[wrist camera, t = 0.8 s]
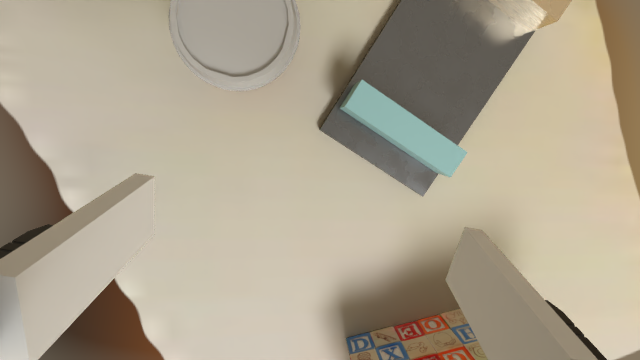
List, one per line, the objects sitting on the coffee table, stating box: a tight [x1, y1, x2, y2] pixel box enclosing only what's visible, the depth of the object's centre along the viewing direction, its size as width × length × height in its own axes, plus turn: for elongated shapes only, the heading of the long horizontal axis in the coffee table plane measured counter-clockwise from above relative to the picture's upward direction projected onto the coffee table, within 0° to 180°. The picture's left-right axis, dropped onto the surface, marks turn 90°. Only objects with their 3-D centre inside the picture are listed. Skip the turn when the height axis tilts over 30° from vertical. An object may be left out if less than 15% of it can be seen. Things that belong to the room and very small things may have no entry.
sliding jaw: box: [340, 80, 467, 177], centre depth 35 cm, size 3×13×4 cm, turn 57°
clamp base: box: [319, 0, 572, 196], centre depth 35 cm, size 25×14×5 cm, turn 147°
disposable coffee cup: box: [169, 0, 300, 91], centre depth 30 cm, size 10×10×12 cm
